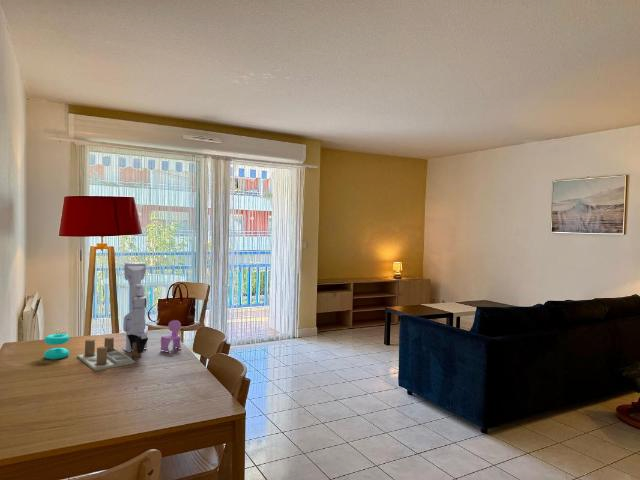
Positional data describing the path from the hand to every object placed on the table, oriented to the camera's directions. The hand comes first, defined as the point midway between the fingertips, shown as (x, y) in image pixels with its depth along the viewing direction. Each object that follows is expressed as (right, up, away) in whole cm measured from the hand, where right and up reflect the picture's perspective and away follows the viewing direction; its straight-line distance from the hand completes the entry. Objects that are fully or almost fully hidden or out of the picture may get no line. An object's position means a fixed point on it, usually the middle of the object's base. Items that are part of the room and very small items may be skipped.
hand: (137, 351), depth 205 cm
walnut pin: (0, -3, 0) cm, 3 cm away
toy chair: (+11, -4, +14) cm, 18 cm away
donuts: (-36, -2, -4) cm, 36 cm away
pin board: (-12, -3, -6) cm, 14 cm away
